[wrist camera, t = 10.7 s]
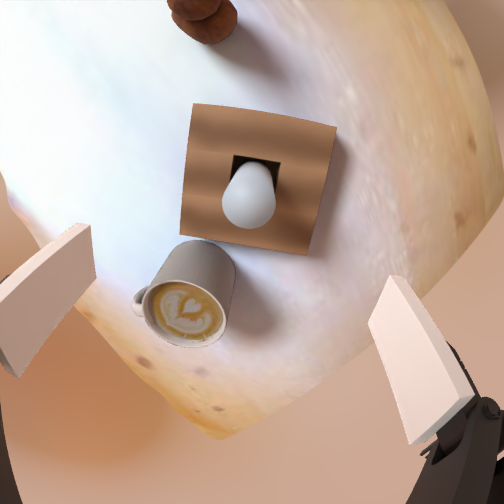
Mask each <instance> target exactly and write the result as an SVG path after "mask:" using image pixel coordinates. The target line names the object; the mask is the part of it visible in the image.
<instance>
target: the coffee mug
mask: <svg viewBox="0 0 504 504" xmlns="http://www.w3.org/2000/svg"><path fill="white" fill-rule="evenodd" d="M234 282H235V268H234V265H233V262H232V260H231V259H230V257H229V256H228V255H227V254H226V252H225V251H224V250H222V249H221V248H220V247H218V246H217V245H215V244H213V243H210V242H207V241H202V240H191V241H187V242H184V243H181V244H180V245H178V246H177V247H175V248H174V249H173V250H172V252H171V253H170V255H169V256H168V258H167V259H166V261H165V262H164V264H163V265H162V267H161V268H160V270H159V272H158V273H157V275H156V276H155V278H154V279H153V281H152V283H151V284H150V285H149V286H147V287H145V288H143V289H141V290H140V291H139V292H138V293H137V294H136V295H135V297H134V298H133V300H132V304H131V306H132V310H133V312H134V313H135V315H137V316H139V317H144V319H145V321H146V323H147V324H148V326H149V327H150V328H151V330H152V331H153V332H154V333H155V334H157V335H158V336H159V337H160V338H162V339H163V340H165V341H167V342H169V343H171V344H173V345H176V346H180V347H184V348H202V347H206V346H209V345H211V344H213V343H215V342H216V341H217V340H218V339H219V338H220V337H221V336H222V335H223V333H224V331H225V328H226V324H227V319H228V314H229V309H230V303H231V298H232V292H233V287H234Z"/></svg>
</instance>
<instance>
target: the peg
mask: <svg viewBox="0 0 504 504" xmlns="http://www.w3.org/2000/svg"><path fill="white" fill-rule="evenodd" d="M222 207H223V211H224V214H225V215H226V217H227V218H228V220H229V221H230V222H232V223H233V224H234V225H236V226H238V227H241V228H245V229H253V228H258V227H260V226H262V225H264V224H265V223H267V222H268V221H269V220H270V219H271V217H272V216H273V214H274V211H275V207H276V200H275V194H274V188H273V182H272V176H271V171H270V169H269V167H268V166H267V165H266V164H265V163H264V162H262V161H260V160H255V159H252V160H248V161H246V162H244V163H243V164H242V165H241V166H240V167H239V168H238V170H237V172H236V173H235V175H234V177H233V178H232V180H231V182H230V183H229V185H228V187H227V188H226V190H225V192H224V195H223V198H222Z"/></svg>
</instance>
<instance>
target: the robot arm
mask: <svg viewBox="0 0 504 504" xmlns="http://www.w3.org/2000/svg"><path fill="white" fill-rule="evenodd" d="M95 279H96V272H95V265H94V257H93V248H92V239H91V227H90V225H88V224H82V223H76V224H75V225H73V226H72V227H71V228H69V229H68V230H66V231H65V232H64V233H62V234H61V235H60V236H58V237H57V238H56V239H54V240H53V241H52V242H50V243H49V244H48V245H46V246H45V247H44V248H42V249H41V250H40V251H39V252H37V253H36V254H35V255H34V256H32V257H31V258H30V259H29V260H27V261H26V262H25V263H24V264H23V265H22V266H20V267H19V268H18V269H17V270H16V271H14V272H13V273H11V274H10V275H8V276H6V277H5V278H4V279H3V280H2V281H1V282H0V362H1V364H2V366H3V367H4V369H5V371H7V372H8V373H10V374H12V375H13V376H15V377H16V378H18V379H19V378H20V377H21V375H22V374H23V372H24V371H25V369H26V368H27V366H28V365H29V363H30V362H31V360H32V359H33V358H34V356H35V354H36V353H37V352H38V350H39V349H40V348H41V346H42V345H43V344H44V342H45V341H46V340H47V338H48V337H49V335H50V334H51V333H52V332H53V330H54V329H55V328H56V326H57V325H58V324H59V323H60V321H61V320H62V319H63V317H64V316H65V315H66V314H67V312H68V311H69V309H71V307H72V306H73V305H74V304H75V303H76V301H77V300H78V299H79V298H80V297H81V295H82V294H83V293H84V292H85V291H86V290H87V288H88V287H89V286H90V285H91V284H92V283H93V281H94V280H95ZM367 324H368V326H369V329H370V331H371V334H372V336H373V339H374V341H375V344H376V347H377V349H378V352H379V354H380V357H381V360H382V363H383V365H384V368H385V371H386V374H387V376H388V379H389V382H390V385H391V388H392V391H393V394H394V397H395V400H396V403H397V405H398V409H399V412H400V416H401V419H402V422H403V425H404V429H405V432H406V435H407V439H408V443H409V445H412V444H417V443H422V442H426V441H427V440H428V439H429V438H430V437H432V436H433V435H434V434H435V433H436V434H437V437H438V439H437V440H436V441H434V442H433V443H432V444H431V445H430V446H428V447H427V448H426V449H424V450H423V451H422V452H421V454H420V455H421V456H423V455H424V454H425V453H427V452H428V451H429V450H430V452H429V454H428V455H427V456H426V457H425V458H426V459H427V460H426V463H425V464H424V467H423V469H422V471H421V474H420V476H419V478H418V480H417V482H416V484H415V486H414V488H413V491H412V493H411V495H410V497H409V498H408V500H407V502H406V504H504V457H503V458H501V459H500V460H499V461H497V455H498V454H499V453H500V452H502V451H503V450H504V410H500V407H499V406H498V404H497V403H496V402H495V401H494V400H493V399H491V398H488V397H482V398H481V397H480V395H479V393H478V391H477V389H476V387H475V385H474V383H473V381H472V379H471V378H470V375H469V374H468V372H467V370H466V369H465V366H464V365H463V363H462V361H460V358H459V356H458V354H457V352H456V351H455V349H454V348H453V347H452V346H451V345H450V344H449V343H448V342H447V341H445V339H444V337H443V336H442V334H441V333H440V331H439V329H438V327H437V326H436V324H435V323H434V321H433V320H432V318H431V316H430V315H429V314H428V312H427V310H426V309H425V307H424V306H423V304H422V303H421V301H420V300H419V298H418V297H417V296H416V294H415V293H414V291H413V290H412V288H411V287H410V285H409V284H408V283H407V281H406V280H405V278H404V277H400V276H394V275H389V278H388V280H387V282H386V285H385V287H384V289H383V291H382V294H381V296H380V298H379V300H378V302H377V304H376V307H375V309H374V311H373V313H372V315H371V317H370V319H369V321H368V323H367ZM0 504H23V503H22V501H21V498H20V495H19V492H18V489H17V485H16V482H15V479H14V475H13V472H12V468H11V464H10V459H9V456H8V450H7V446H6V440H5V435H4V429H3V422H2V414H1V405H0Z"/></svg>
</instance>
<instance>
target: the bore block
mask: <svg viewBox="0 0 504 504" xmlns="http://www.w3.org/2000/svg"><path fill="white" fill-rule="evenodd" d="M336 130H337V127H333V126H329V125H325V124H321V123H317V122H313V121H308V120H304V119H299V118H295V117H290V116H285V115H279V114H274V113H268V112H262V111H256V110H249V109H242V108H235V107H227V106H218V105H207V104H196V103H193V108H192V115H191V122H190V130H189V137H188V145H187V154H186V163H185V172H184V182H183V193H182V206H181V219H180V235H186V236H192V237H199V238H205V239H211V240H217V241H223V242H229V243H235V244H241V245H247V246H253V247H259V248H265V249H271V250H277V251H283V252H289V253H294V254H300V255H307V251H308V247H309V244H310V240H311V236H312V232H313V229H314V225H315V221H316V217H317V213H318V209H319V205H320V201H321V197H322V193H323V189H324V184H325V180H326V176H327V171H328V167H329V163H330V158H331V153H332V149H333V144H334V139H335V135H336ZM252 159H255V160H260V161H262V162H264V163H265V164H266V165H267V166H268V167H269V169H270V171H271V176H272V182H273V188H274V194H275V200H276V207H275V211H274V214H273V216H272V217H271V219H270V220H269V221H268V222H267V223H265V224H264V225H262V226H260V227H258V228H253V229H245V228H241V227H238V226H236V225H234V224H233V223H232V222H230V221H229V220H228V218H227V217H226V215H225V214H224V211H223V207H222V198H223V195H224V192H225V190H226V188H227V187H228V185H229V183H230V182H231V180H232V178H233V177H234V175H235V173H236V172H237V170H238V168H239V167H240V166H241V165H242V164H243V163H244V162H246V161H248V160H252Z"/></svg>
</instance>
